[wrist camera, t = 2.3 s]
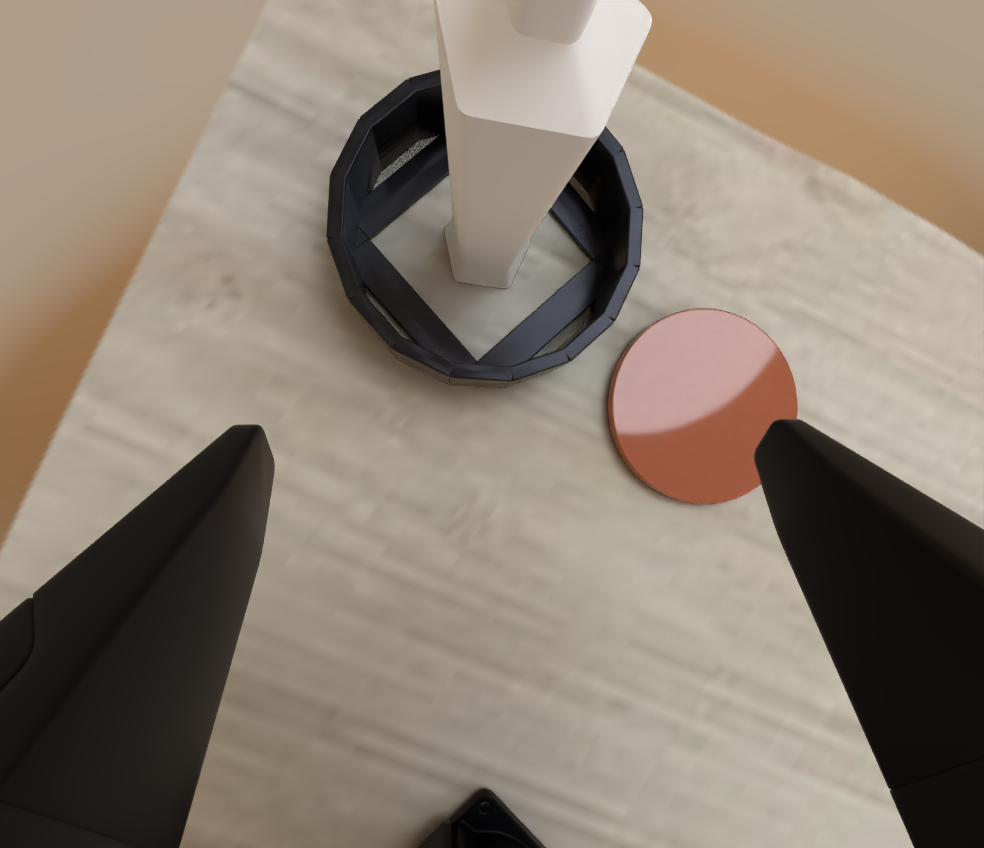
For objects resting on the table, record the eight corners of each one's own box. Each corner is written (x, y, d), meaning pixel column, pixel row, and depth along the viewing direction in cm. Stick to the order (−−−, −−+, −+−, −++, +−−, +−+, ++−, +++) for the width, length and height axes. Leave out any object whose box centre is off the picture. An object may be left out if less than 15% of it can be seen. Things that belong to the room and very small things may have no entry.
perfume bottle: (411, 249, 22) (349, -130, 7) (478, 180, 22) (556, -323, 7) (487, 321, 22) (583, 105, 7) (552, 252, 23) (770, -90, 8)
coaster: (824, 414, 24) (834, 414, 23) (693, 542, 23) (699, 545, 23) (706, 272, 23) (713, 267, 23) (567, 398, 23) (571, 397, 22)
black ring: (666, 268, 23) (702, 243, 20) (472, 442, 22) (477, 445, 19) (493, 61, 22) (502, 0, 19) (284, 232, 21) (257, 198, 18)
